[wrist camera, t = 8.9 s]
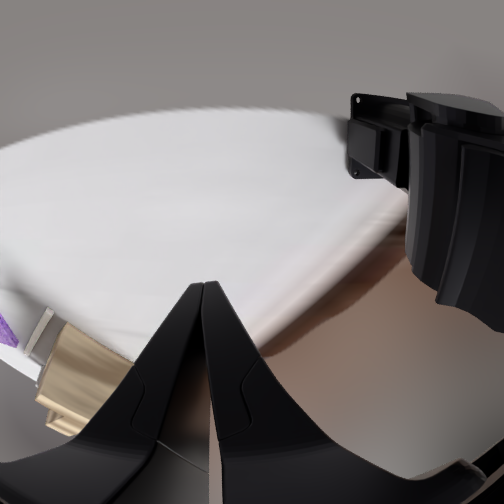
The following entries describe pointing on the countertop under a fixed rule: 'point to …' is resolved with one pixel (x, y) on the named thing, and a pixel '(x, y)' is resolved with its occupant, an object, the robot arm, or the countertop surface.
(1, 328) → the sponges
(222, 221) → the countertop surface
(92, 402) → the t block
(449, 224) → the robot arm
